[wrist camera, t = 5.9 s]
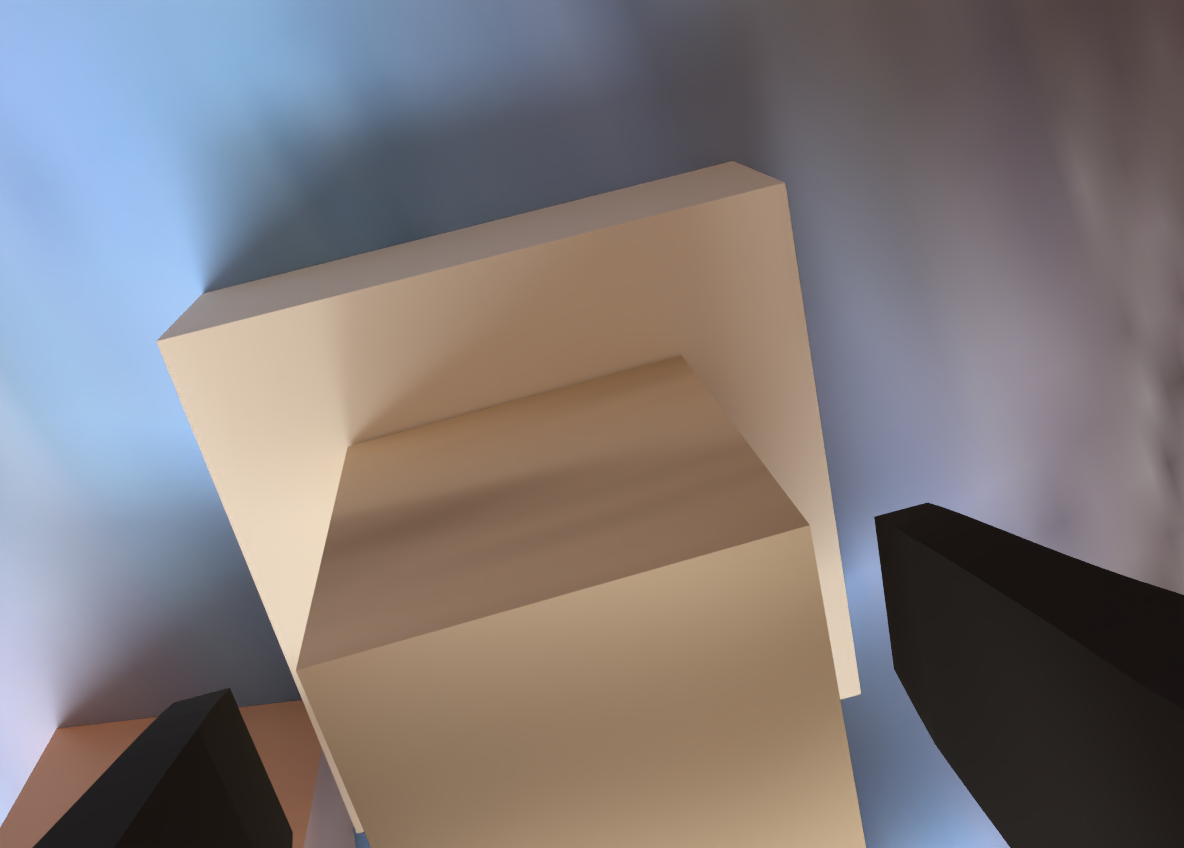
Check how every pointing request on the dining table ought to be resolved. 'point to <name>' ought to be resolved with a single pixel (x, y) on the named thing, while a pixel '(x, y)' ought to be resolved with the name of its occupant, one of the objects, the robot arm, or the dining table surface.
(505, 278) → the cream slab
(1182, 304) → the dining table surface
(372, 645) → the maple block
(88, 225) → the dining table surface
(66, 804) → the terracotta block
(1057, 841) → the robot arm
